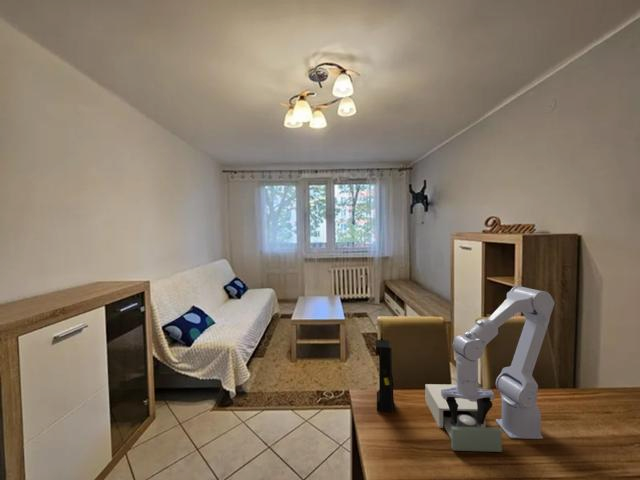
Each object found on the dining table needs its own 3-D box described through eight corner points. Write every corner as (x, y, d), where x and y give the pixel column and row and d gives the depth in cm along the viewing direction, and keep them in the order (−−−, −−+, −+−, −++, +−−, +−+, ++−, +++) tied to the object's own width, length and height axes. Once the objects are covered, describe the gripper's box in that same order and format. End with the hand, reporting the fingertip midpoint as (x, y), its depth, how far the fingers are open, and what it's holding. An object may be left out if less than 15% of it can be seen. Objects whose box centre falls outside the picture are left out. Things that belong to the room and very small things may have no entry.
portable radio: (395, 415, 95) (394, 341, 94) (376, 413, 96) (375, 340, 95) (393, 401, 102) (392, 333, 102) (376, 399, 104) (375, 332, 103)
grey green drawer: (477, 419, 91) (477, 401, 91) (501, 451, 78) (501, 430, 78) (436, 418, 92) (436, 400, 92) (452, 450, 79) (452, 429, 79)
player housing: (465, 401, 101) (464, 384, 101) (485, 428, 87) (485, 409, 87) (425, 400, 102) (425, 384, 102) (439, 427, 88) (439, 408, 88)
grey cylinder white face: (472, 427, 87) (472, 414, 87) (481, 440, 81) (481, 426, 81) (454, 426, 87) (454, 413, 87) (462, 439, 82) (462, 425, 82)
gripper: (447, 384, 80) (447, 430, 81) (500, 384, 79) (500, 431, 80) (438, 371, 87) (439, 414, 88) (486, 372, 86) (487, 415, 87)
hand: (467, 421), depth 84 cm, fingers open, 7 cm apart
